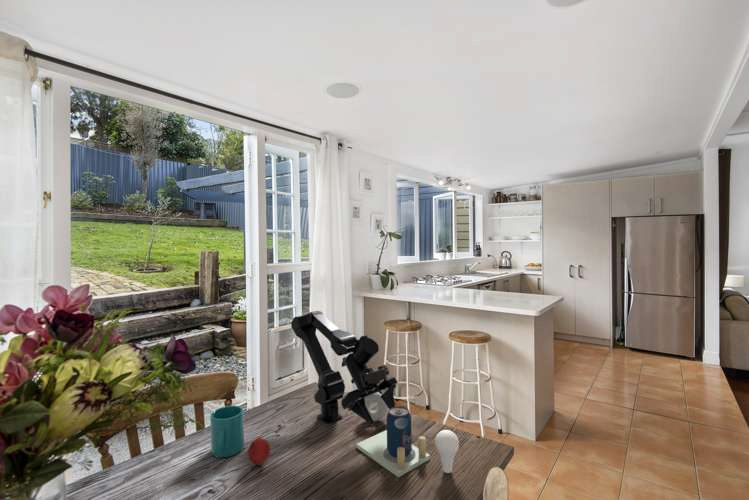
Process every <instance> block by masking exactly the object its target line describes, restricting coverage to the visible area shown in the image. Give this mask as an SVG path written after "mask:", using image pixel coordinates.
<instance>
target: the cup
mask: <svg viewBox="0 0 749 500" xmlns="http://www.w3.org/2000/svg"><path fill="white" fill-rule="evenodd" d="M243 408H244V407H242V406H238V405H227V406H221V407H219V408H216V409H215V410H213V411H212V412H211V413H210V416H209V417H210V420H209V421H210V422H209V423H210V445H211V449H210V450H211V454H212V456H214V457H216V458H220V457H221V458H222V459H223V458H224V457H225V458H229V457H233V456H235V455H238V454H239V453H240V452H241V451H242V450H244V446H245V427H244V426H245V425H244V423H245V422H244V418H245V417H244V409H243ZM221 458H220V459H221ZM225 458H224V459H225Z"/></svg>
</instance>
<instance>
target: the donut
mask: <svg viewBox="0 0 749 500" xmlns="http://www.w3.org/2000/svg"><path fill="white" fill-rule="evenodd" d="M381 395H382V394H380V393H379V392H377V393H375V394H372V395H370V396H367V397H365V406H366V408H367V410H368V412H369V414H370V416H371V418H372V420H373V422H378V421H381V420H382V419H383V418H384V417H385V416H387V414H388V412H389V408H388V406H387V405H386V404H385V402H384V401H383V399H382V398H381V397H380V396H381ZM372 403H375V404H377V405H378V407H377V408H376V409H375V410H371V409H370V405H371V404H372Z"/></svg>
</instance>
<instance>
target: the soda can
mask: <svg viewBox="0 0 749 500" xmlns="http://www.w3.org/2000/svg"><path fill="white" fill-rule="evenodd" d="M386 430H387V450H388V452H389V454H390V455H391V456H392V457H394V458H397V448H398V447H403V448H405V458H406V457H407V456H408V455H409V454H410V452H411V450H412V445H413V444H412V442H413V441H412V439H413V438H412V437H413V435H412V415H411V413H410V410H409V408H407V407H406V406H402V405H395V407H392V408H390V409H389V408H388V411H387V413H386Z"/></svg>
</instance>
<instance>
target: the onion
mask: <svg viewBox="0 0 749 500" xmlns="http://www.w3.org/2000/svg"><path fill="white" fill-rule="evenodd" d="M247 454H248V455H247V456H248V459H249V461H250V462H251V463H252V464H255V465H259V466H261V465H263V463H265V462H266V461H267V459H268V458H269V457H270V455H271V446H270V443H269V442H268V441H267V440H266V439H265V438H263V436H262V435H259V436H257V437H256V438H255V439H254V440H253V441H252V442H251V443H250V445H249V448H248V450H247Z"/></svg>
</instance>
